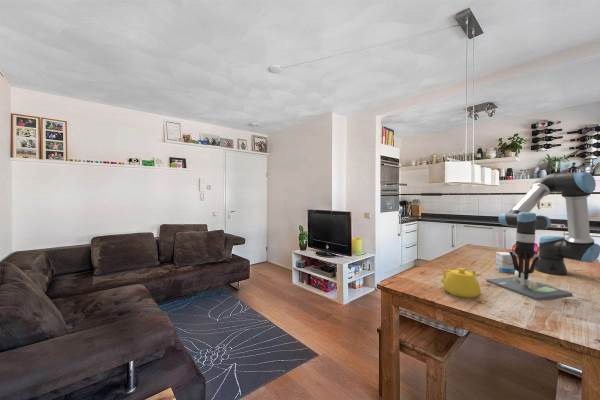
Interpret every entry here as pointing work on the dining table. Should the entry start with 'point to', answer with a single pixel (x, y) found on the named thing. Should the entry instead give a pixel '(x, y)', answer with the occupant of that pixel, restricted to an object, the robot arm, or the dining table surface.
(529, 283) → the peg lever
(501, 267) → the ink box
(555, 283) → the dining table surface
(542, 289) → the board
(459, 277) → the teapot
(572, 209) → the robot arm
